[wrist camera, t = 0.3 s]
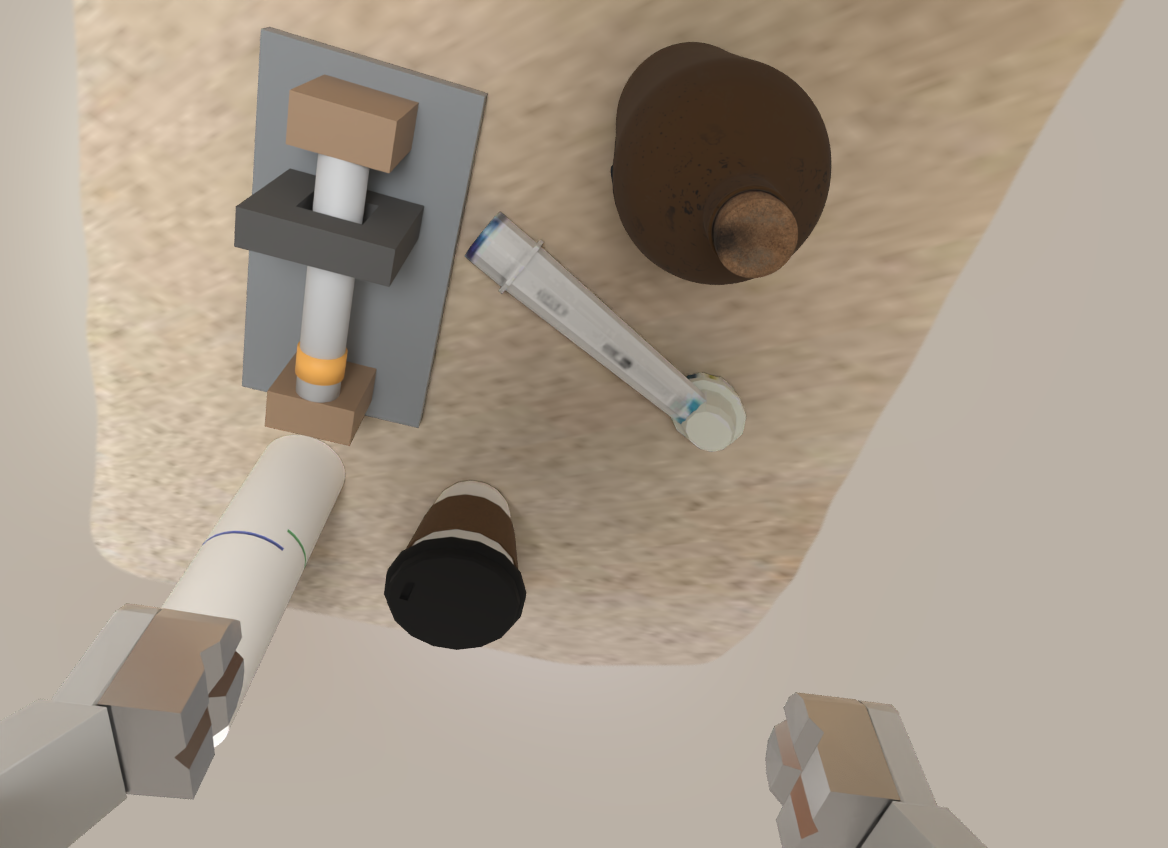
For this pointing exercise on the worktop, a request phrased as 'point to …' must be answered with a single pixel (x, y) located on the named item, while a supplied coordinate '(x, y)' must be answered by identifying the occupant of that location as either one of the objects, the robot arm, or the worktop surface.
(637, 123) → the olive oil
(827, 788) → the robot arm
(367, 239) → the collar
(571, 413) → the worktop surface
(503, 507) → the coffee cup
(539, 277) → the electric toothbrush
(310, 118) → the pipe stand
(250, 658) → the cylindrical container
